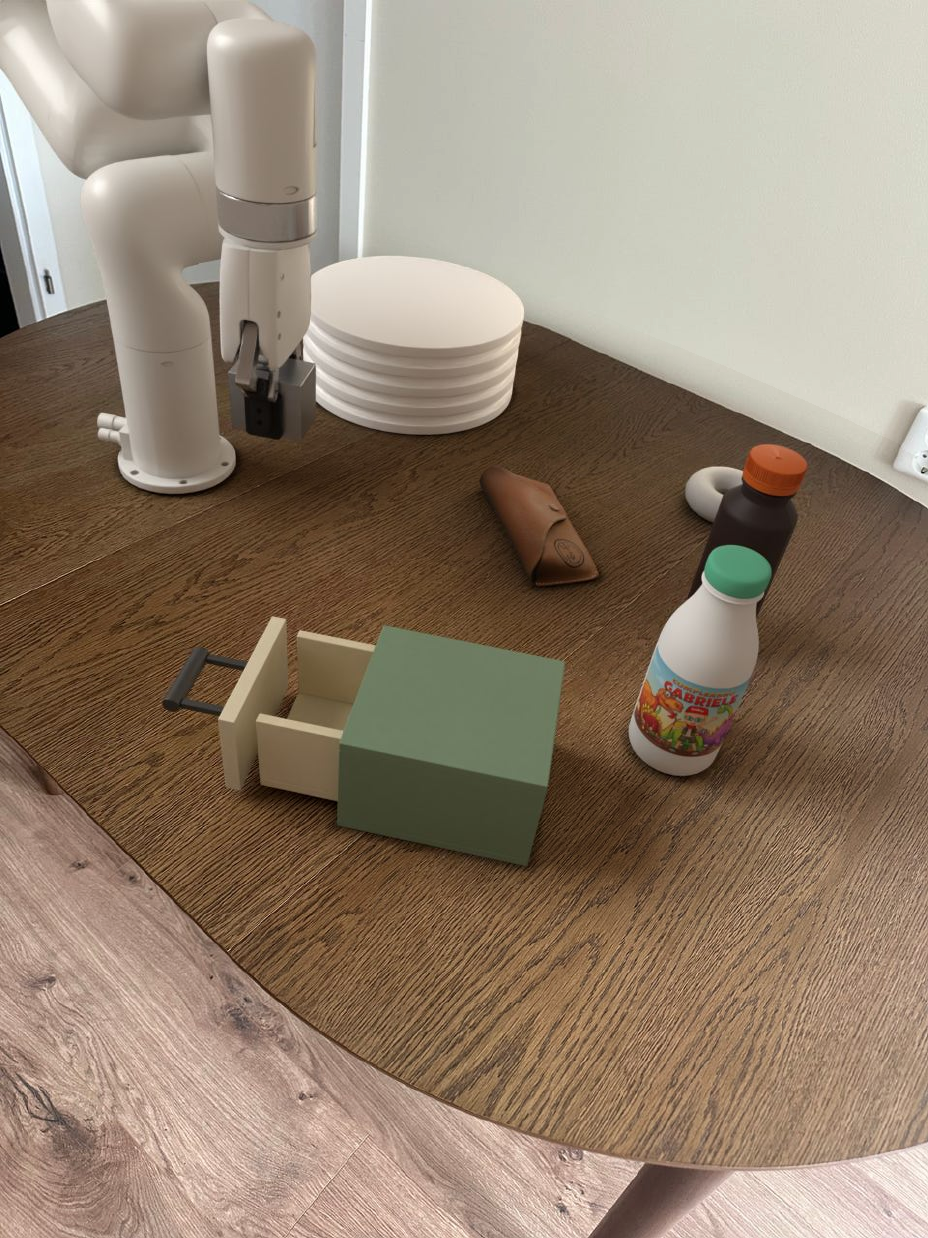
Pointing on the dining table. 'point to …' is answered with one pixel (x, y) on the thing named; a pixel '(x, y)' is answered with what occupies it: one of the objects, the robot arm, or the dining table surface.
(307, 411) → the matte grey box
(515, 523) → the sunglasses case
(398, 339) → the plate stack
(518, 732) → the cabinet
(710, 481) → the donut
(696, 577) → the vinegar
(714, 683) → the milk bottle
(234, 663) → the drawer
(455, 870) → the dining table surface
